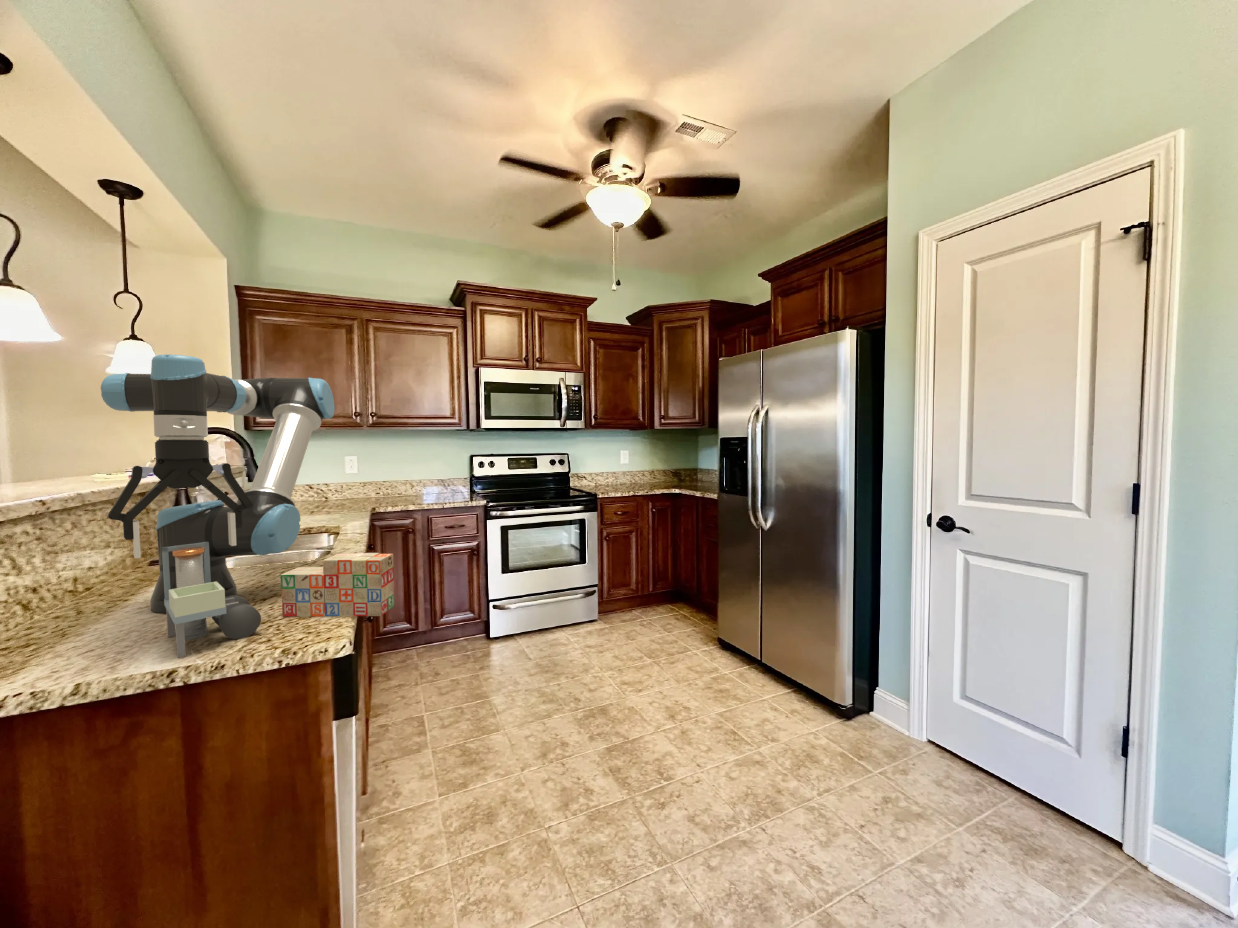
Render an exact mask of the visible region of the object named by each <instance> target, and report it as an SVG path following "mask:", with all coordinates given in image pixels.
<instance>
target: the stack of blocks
mask: <svg viewBox="0 0 1238 928" xmlns="http://www.w3.org/2000/svg"><path fill="white" fill-rule="evenodd" d="M394 570H395V567H394V554H393V553H379V552H366V553H364V552H363V553H337V554H335V555H332V556H330V557H327V558H325V559H323V560H322V566H321V567H320V566H312V567H311V566H308V567H307V566H305V567H304V566H302V567H301V566H299V567H296V568H293V569H291V570H289V571H287V572H284V573H281V574H280V575H279V577H280V588H281V591H280V592H281V593H280V594H281V608H282V611H281V612H282V617H298V618H299V617H303V618H304V617H382V616H383V615H385V614H386V613H387V612H389V611H390V610H392V609H393V608H394V607H395V571H394Z"/></svg>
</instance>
